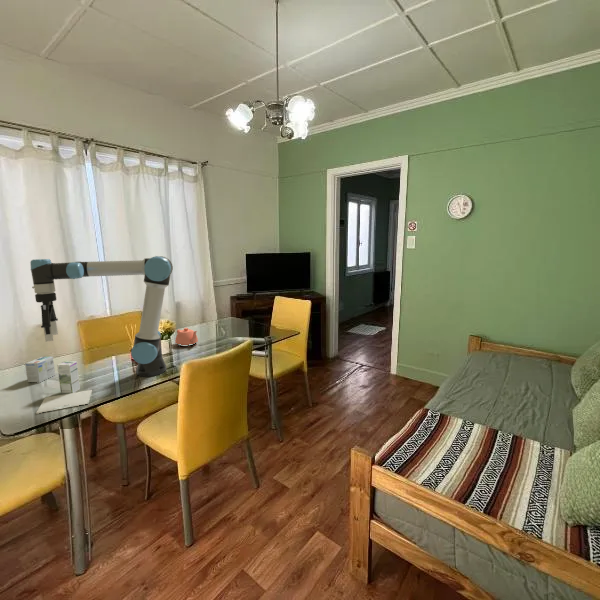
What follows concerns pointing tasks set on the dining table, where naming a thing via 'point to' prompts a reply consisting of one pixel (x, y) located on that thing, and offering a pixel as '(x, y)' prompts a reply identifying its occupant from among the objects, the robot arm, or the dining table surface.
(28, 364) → the light bulb box
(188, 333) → the teapot
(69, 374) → the syrup box
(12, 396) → the dining table surface
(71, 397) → the mat
